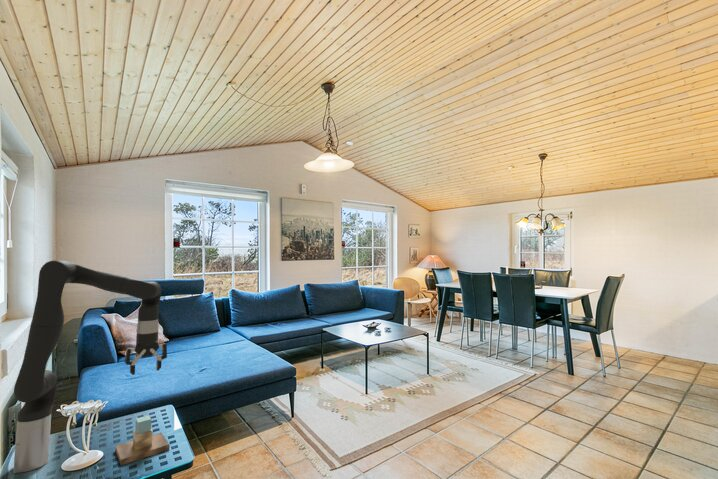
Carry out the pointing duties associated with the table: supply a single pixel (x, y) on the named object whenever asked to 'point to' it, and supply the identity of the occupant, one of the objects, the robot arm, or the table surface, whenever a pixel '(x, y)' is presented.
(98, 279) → the robot arm
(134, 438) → the oak block
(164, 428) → the table surface
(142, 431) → the teal block
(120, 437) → the table surface
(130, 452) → the walnut board
